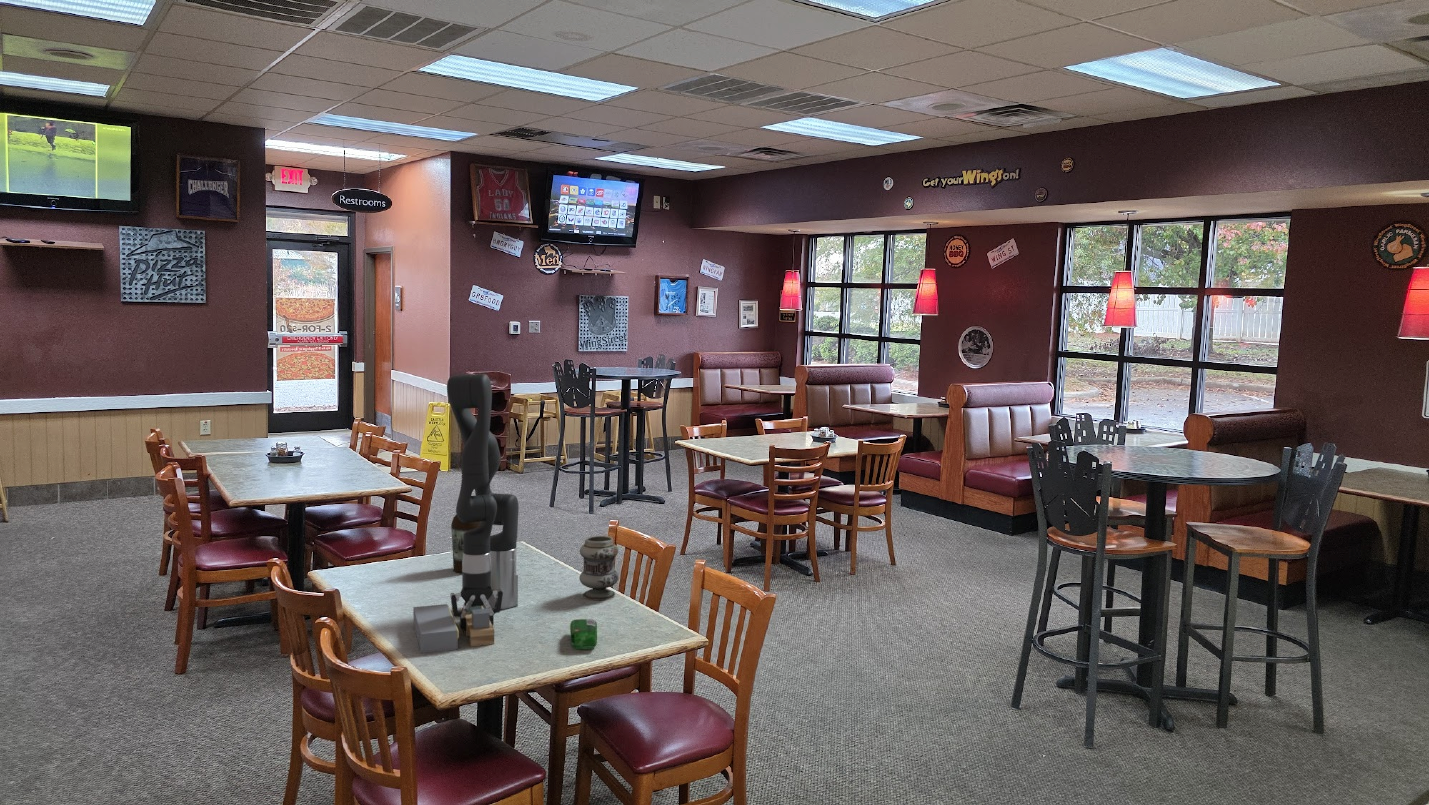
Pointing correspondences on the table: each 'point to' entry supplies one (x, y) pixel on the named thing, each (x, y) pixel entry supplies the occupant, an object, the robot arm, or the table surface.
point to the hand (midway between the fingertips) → (476, 629)
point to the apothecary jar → (599, 567)
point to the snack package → (583, 633)
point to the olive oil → (459, 540)
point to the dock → (435, 628)
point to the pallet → (478, 632)
